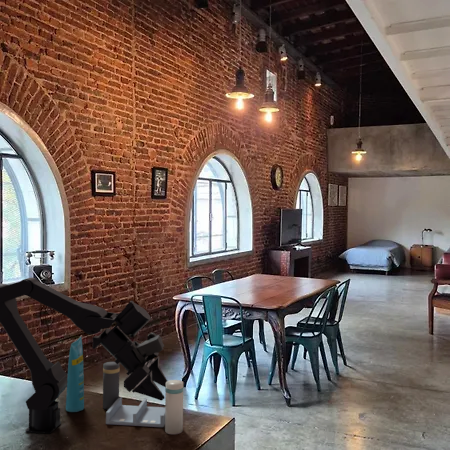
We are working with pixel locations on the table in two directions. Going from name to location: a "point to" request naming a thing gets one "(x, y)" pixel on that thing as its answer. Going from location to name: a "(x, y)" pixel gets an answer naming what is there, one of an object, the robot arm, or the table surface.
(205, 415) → the table surface
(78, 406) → the tube
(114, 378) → the grey bottle
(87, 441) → the table surface
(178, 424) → the white bottle
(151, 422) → the slot rack
